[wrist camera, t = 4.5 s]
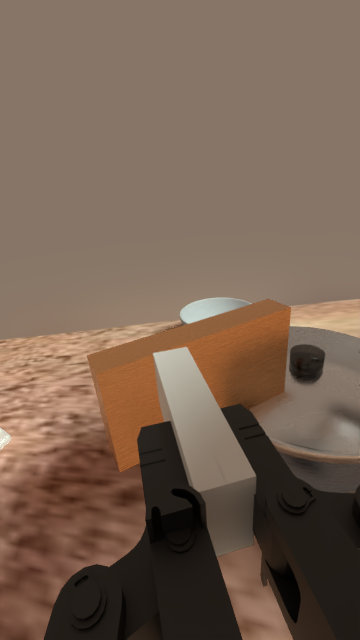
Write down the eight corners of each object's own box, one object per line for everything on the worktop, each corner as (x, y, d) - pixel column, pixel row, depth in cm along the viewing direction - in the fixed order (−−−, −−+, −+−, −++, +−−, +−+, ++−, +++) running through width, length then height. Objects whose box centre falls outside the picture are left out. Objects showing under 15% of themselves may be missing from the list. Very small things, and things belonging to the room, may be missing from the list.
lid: (297, 321, 41) (303, 254, 37) (475, 397, 25) (517, 295, 21) (88, 399, 29) (65, 313, 25) (179, 624, 14) (157, 492, 10)
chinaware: (255, 370, 52) (256, 331, 49) (173, 363, 57) (169, 326, 53) (258, 331, 65) (259, 298, 62) (192, 327, 70) (190, 296, 66)
